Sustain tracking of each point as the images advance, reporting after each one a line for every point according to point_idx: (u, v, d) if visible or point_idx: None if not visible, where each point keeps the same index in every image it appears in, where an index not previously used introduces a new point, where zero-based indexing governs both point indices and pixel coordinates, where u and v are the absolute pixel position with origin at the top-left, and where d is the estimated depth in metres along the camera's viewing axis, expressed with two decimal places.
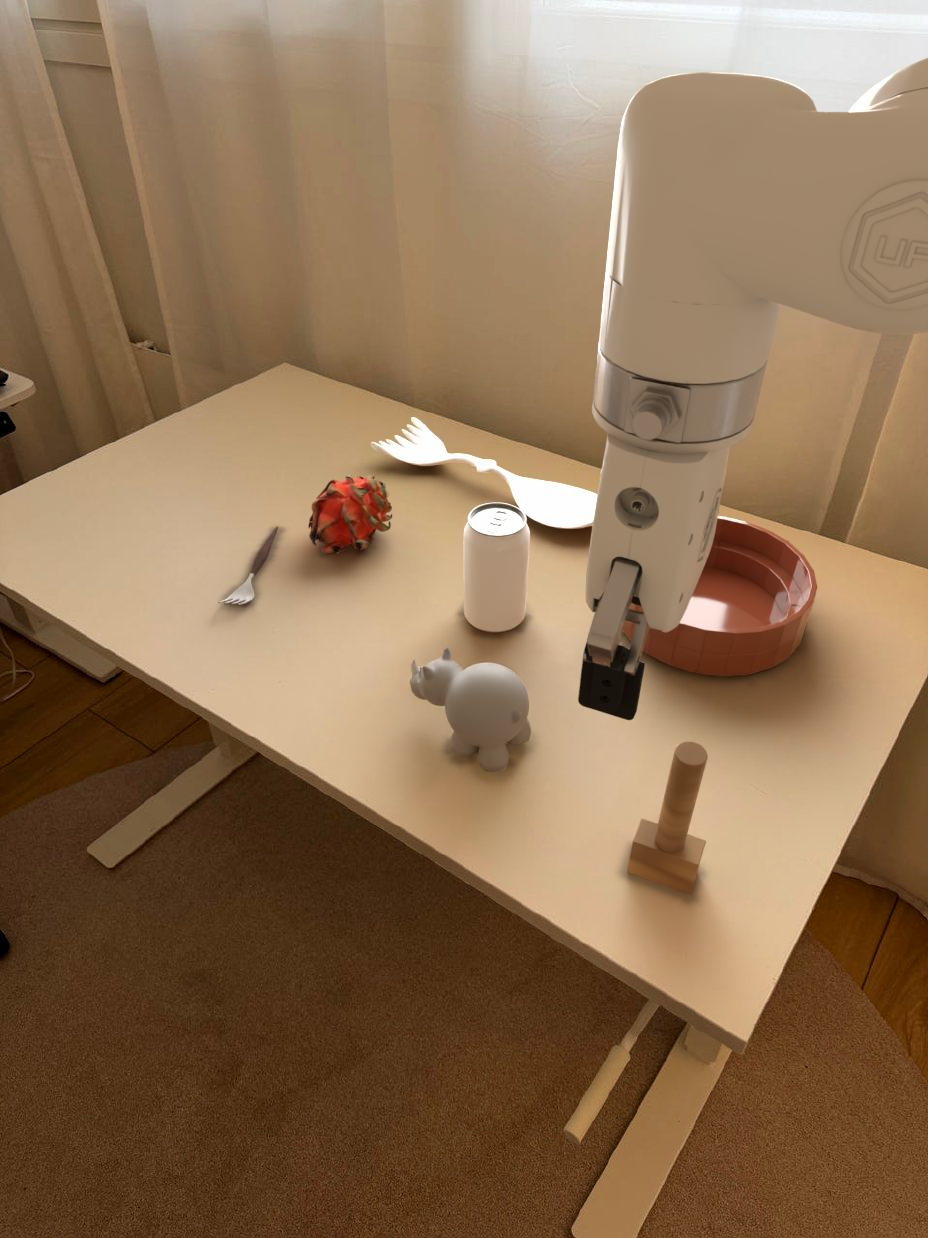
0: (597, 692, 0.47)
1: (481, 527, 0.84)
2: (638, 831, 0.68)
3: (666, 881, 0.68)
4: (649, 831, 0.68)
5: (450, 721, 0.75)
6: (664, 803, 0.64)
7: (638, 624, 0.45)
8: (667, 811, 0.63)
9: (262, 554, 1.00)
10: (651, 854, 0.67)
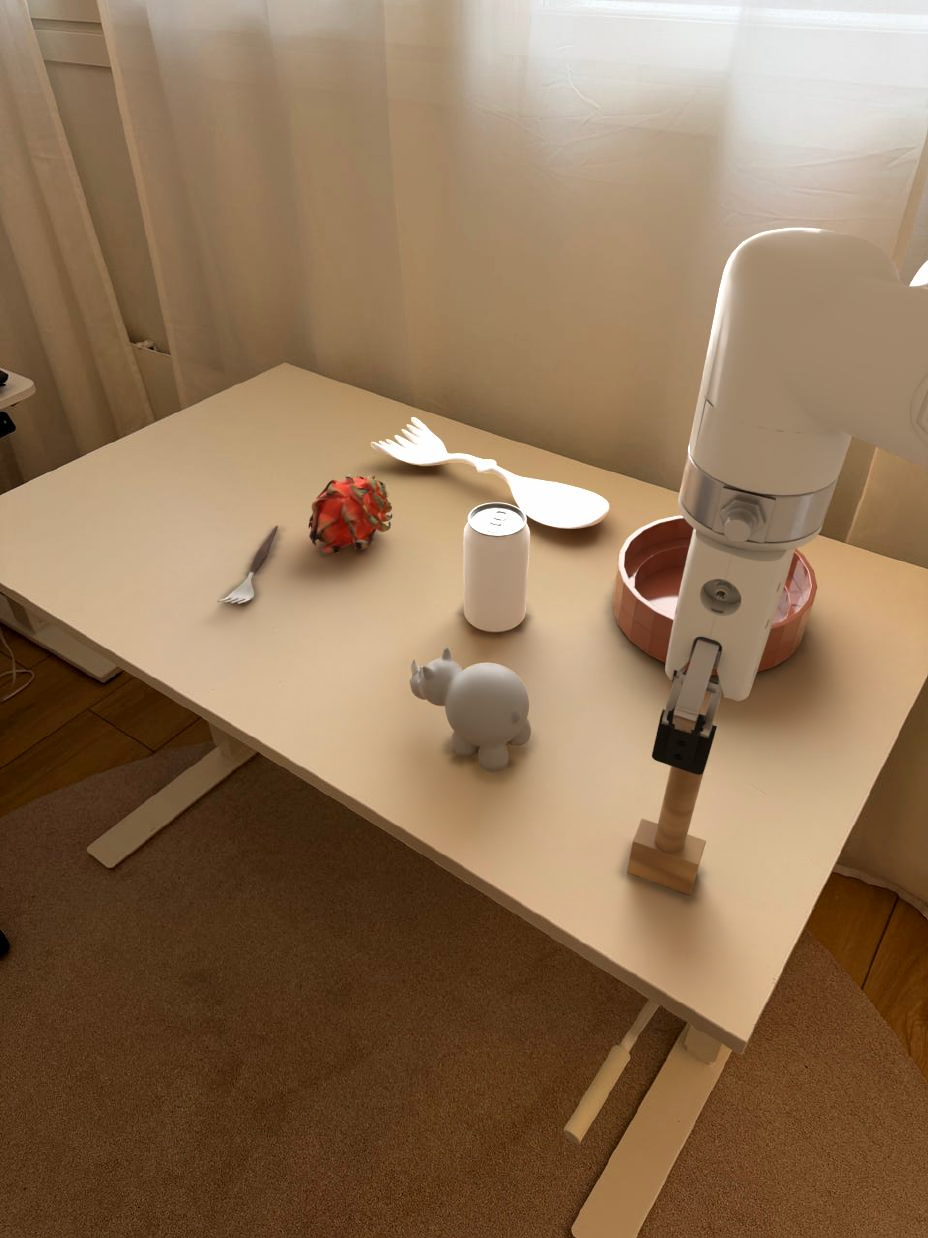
0: (672, 750, 0.53)
1: (481, 527, 0.84)
2: (638, 831, 0.68)
3: (666, 881, 0.68)
4: (649, 831, 0.68)
5: (450, 721, 0.75)
6: (664, 803, 0.64)
7: (713, 693, 0.50)
8: (667, 811, 0.63)
9: (262, 553, 1.00)
10: (651, 854, 0.67)
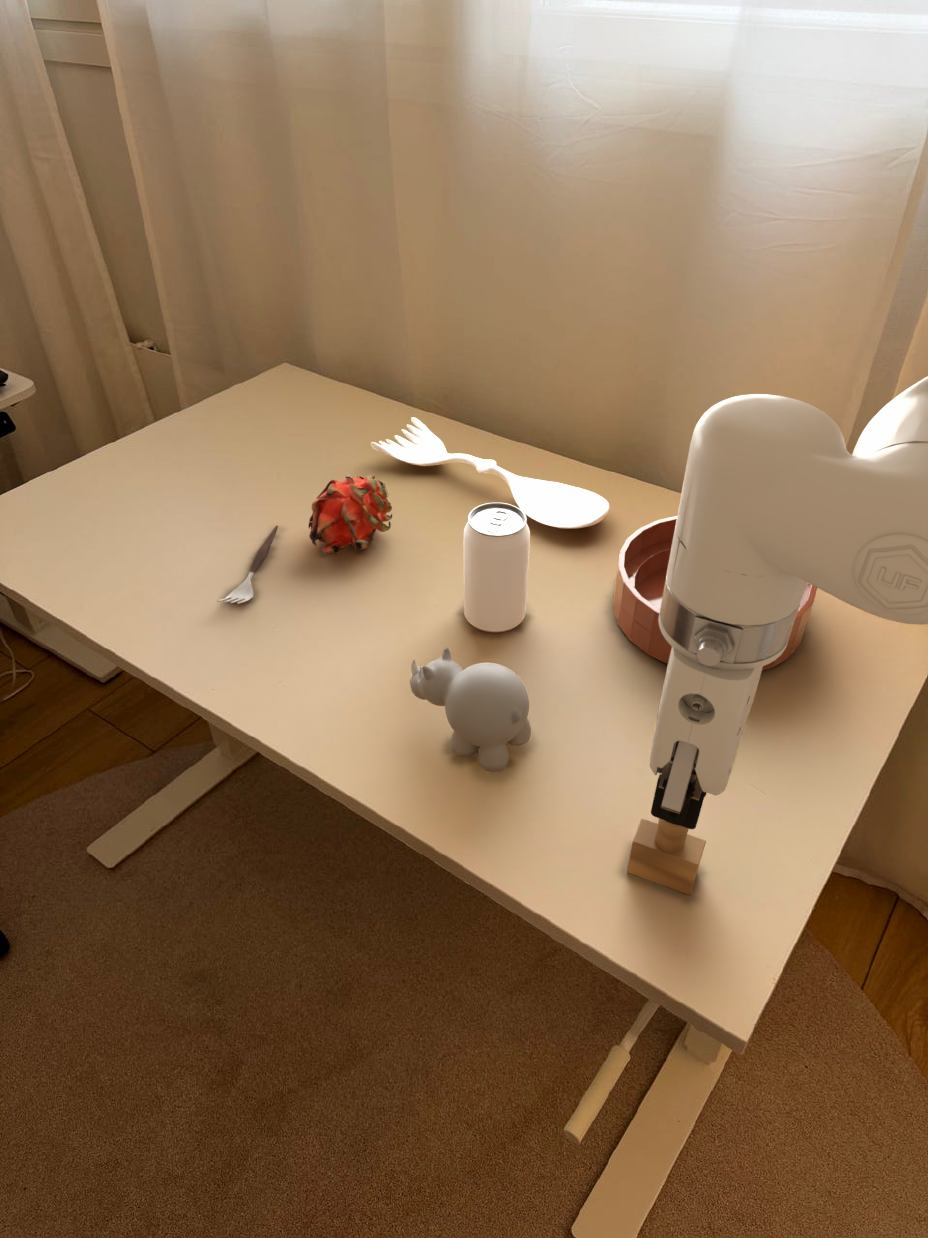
0: (668, 809, 0.61)
1: (481, 527, 0.84)
2: (638, 831, 0.68)
3: (666, 881, 0.68)
4: (649, 831, 0.68)
5: (450, 721, 0.75)
6: None
7: (698, 776, 0.58)
8: None
9: (262, 553, 1.00)
10: (651, 854, 0.67)
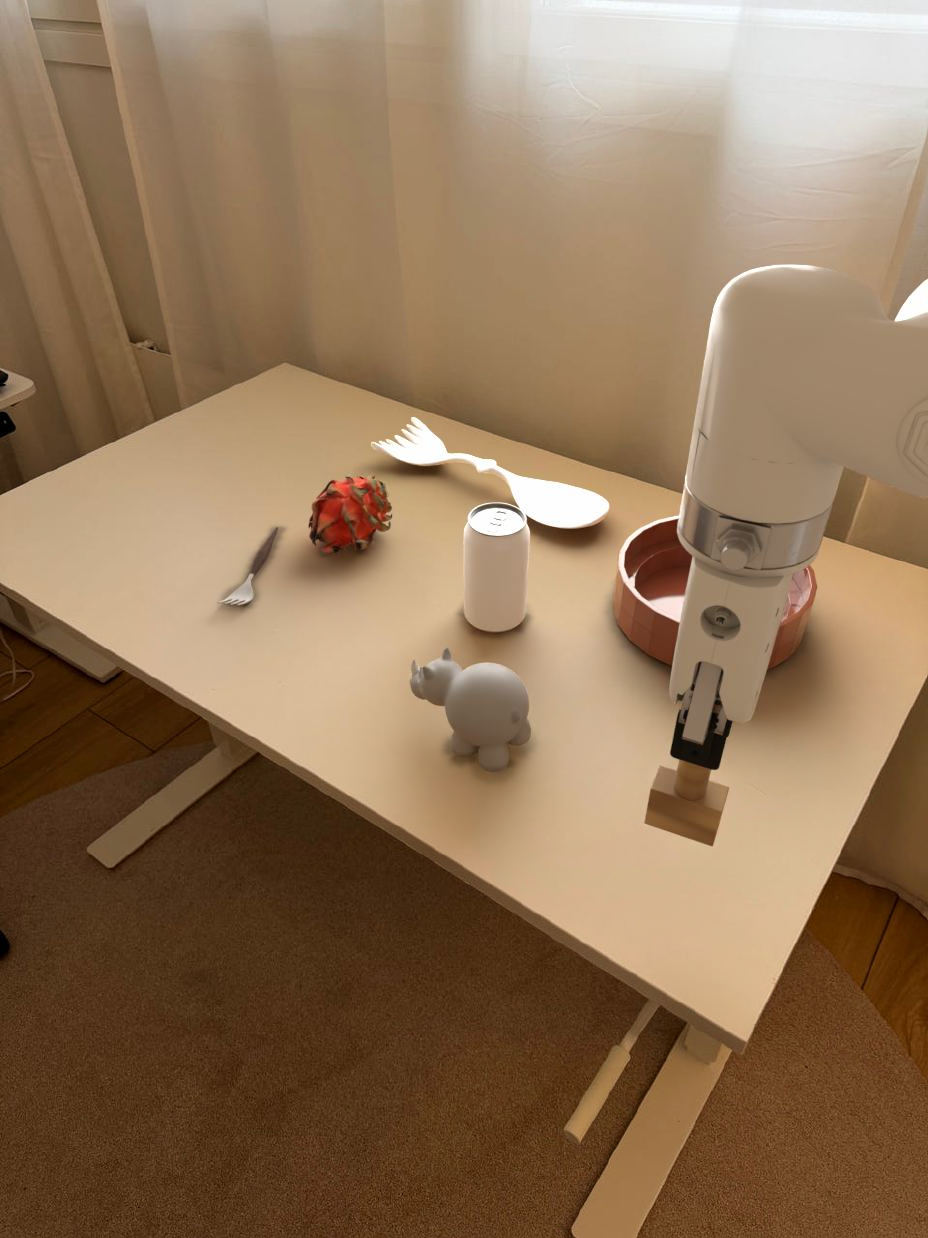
0: (689, 747, 0.57)
1: (481, 527, 0.84)
2: (656, 778, 0.63)
3: (687, 832, 0.64)
4: (668, 778, 0.63)
5: (450, 721, 0.75)
6: None
7: (721, 707, 0.53)
8: None
9: (262, 554, 1.00)
10: (670, 802, 0.62)
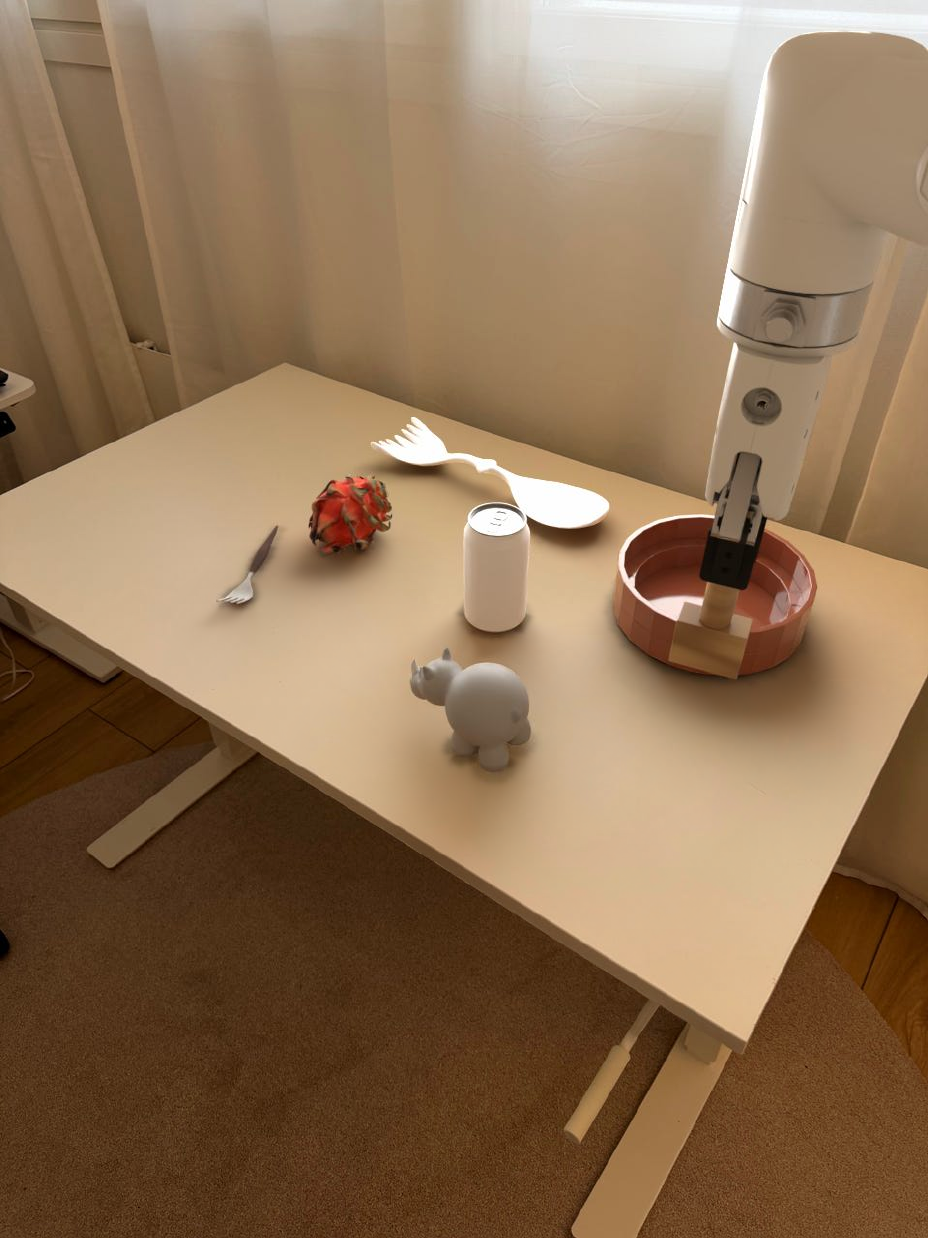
0: (719, 564, 0.58)
1: (481, 527, 0.84)
2: (681, 612, 0.64)
3: (711, 666, 0.65)
4: (693, 611, 0.64)
5: (450, 721, 0.75)
6: None
7: (754, 513, 0.54)
8: None
9: (262, 553, 1.00)
10: (696, 633, 0.64)
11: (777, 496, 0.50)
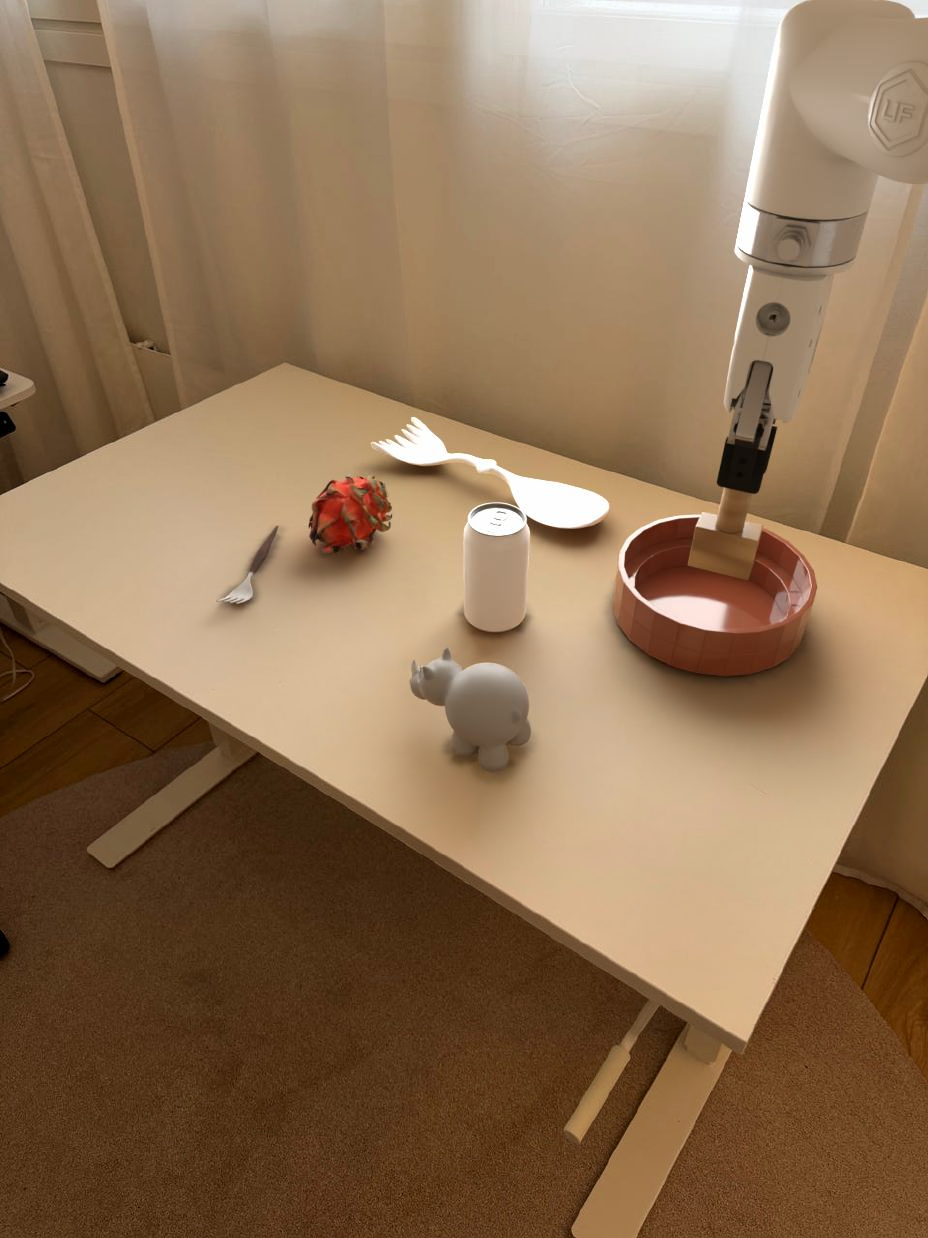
0: (734, 469, 0.66)
1: (481, 527, 0.84)
2: (700, 519, 0.73)
3: (726, 568, 0.73)
4: (710, 519, 0.73)
5: (450, 721, 0.75)
6: None
7: (766, 420, 0.63)
8: None
9: (262, 553, 1.00)
10: (712, 538, 0.72)
11: (786, 399, 0.59)
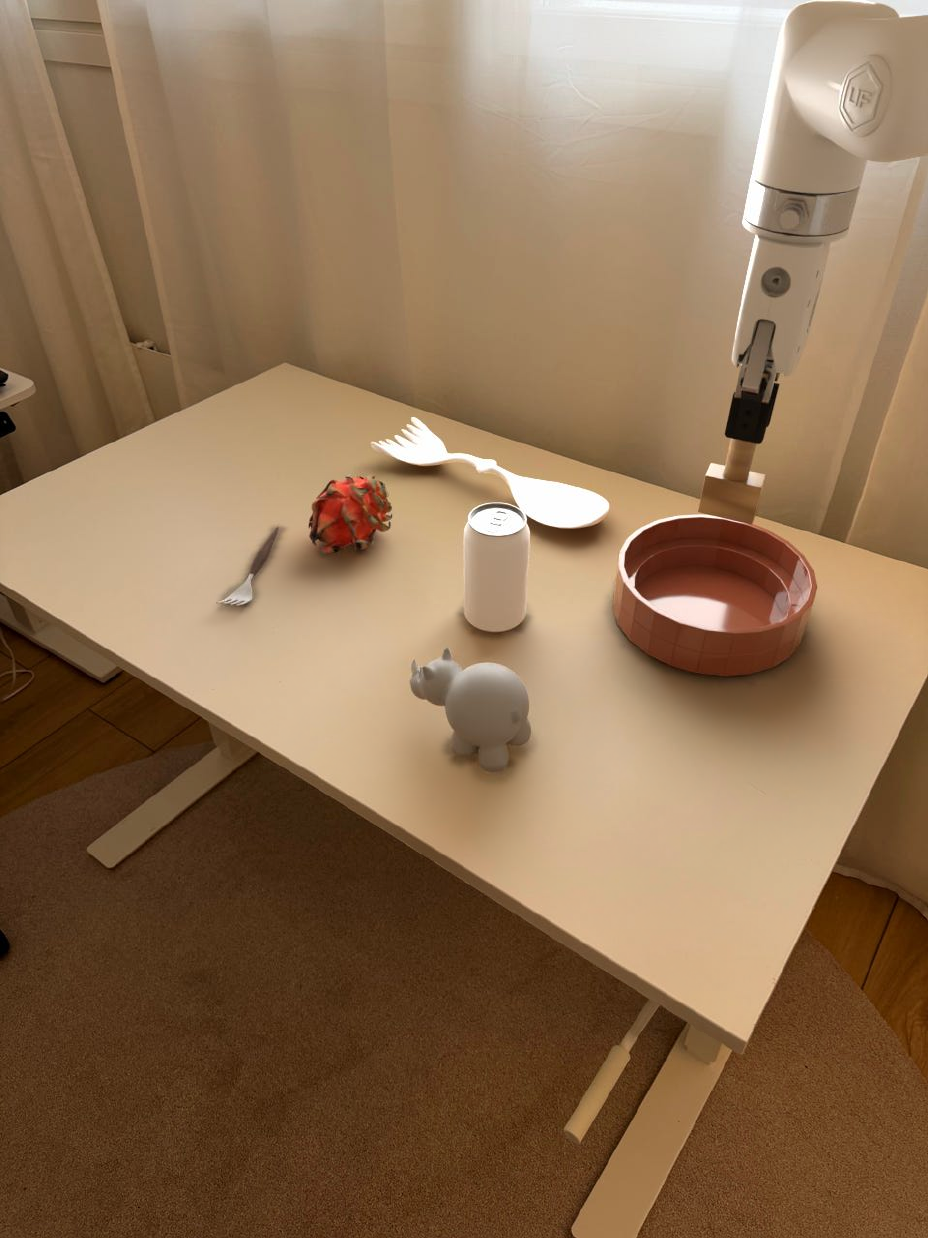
0: (741, 421, 0.74)
1: (481, 527, 0.84)
2: (709, 469, 0.81)
3: (732, 514, 0.81)
4: (718, 469, 0.81)
5: (450, 721, 0.75)
6: None
7: (769, 375, 0.71)
8: None
9: (262, 555, 1.00)
10: (720, 486, 0.80)
11: (786, 354, 0.67)
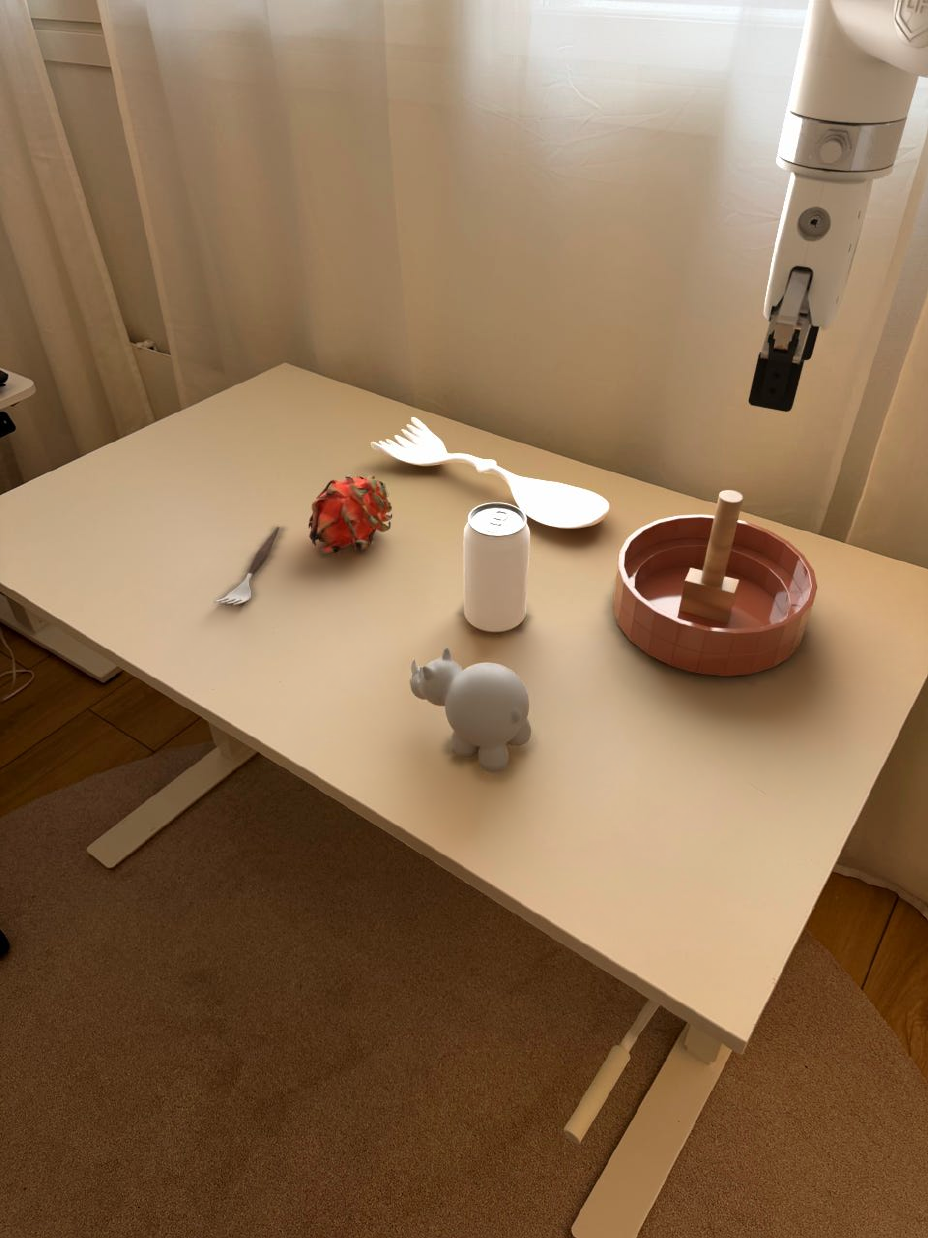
0: (767, 385, 0.66)
1: (481, 527, 0.84)
2: (688, 574, 0.91)
3: (709, 613, 0.91)
4: (696, 574, 0.91)
5: (450, 721, 0.75)
6: (709, 542, 0.87)
7: (803, 325, 0.63)
8: (712, 547, 0.86)
9: (261, 554, 1.00)
10: (698, 590, 0.90)
11: (824, 305, 0.61)
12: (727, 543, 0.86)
